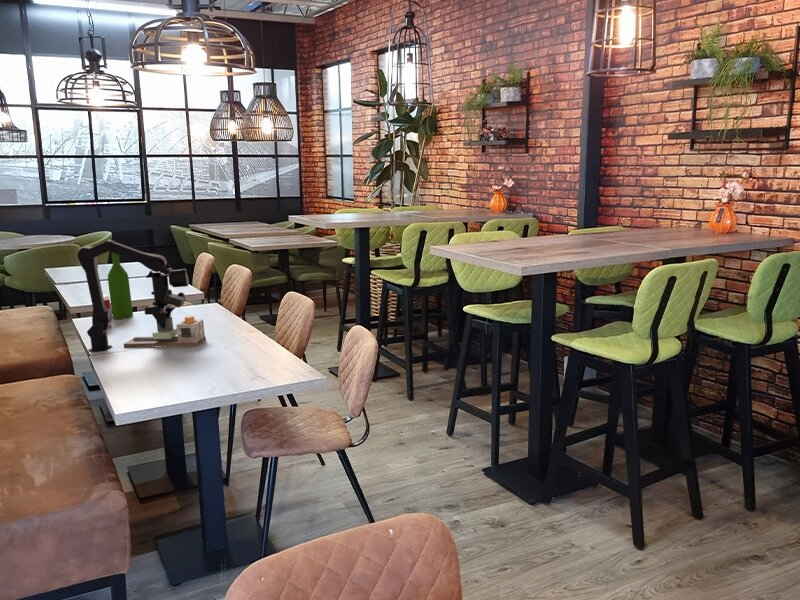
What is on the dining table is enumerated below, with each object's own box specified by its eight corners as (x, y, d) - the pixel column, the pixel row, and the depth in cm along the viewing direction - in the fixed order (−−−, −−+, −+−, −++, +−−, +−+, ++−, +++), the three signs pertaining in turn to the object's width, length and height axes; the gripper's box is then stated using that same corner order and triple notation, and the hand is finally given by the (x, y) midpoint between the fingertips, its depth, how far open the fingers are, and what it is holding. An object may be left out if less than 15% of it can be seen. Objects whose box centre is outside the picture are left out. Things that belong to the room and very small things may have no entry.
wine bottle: (137, 315, 318) (129, 247, 312) (124, 319, 310) (116, 249, 303) (121, 314, 321) (112, 247, 314) (108, 319, 312) (99, 249, 306)
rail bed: (195, 346, 257) (193, 325, 256) (123, 347, 261) (121, 326, 259) (205, 339, 267) (203, 319, 265) (136, 340, 270) (133, 320, 269)
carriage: (170, 338, 259) (168, 320, 257) (153, 338, 260) (150, 320, 258) (179, 333, 267) (177, 315, 265) (162, 333, 267) (160, 315, 266)
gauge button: (193, 330, 260) (192, 318, 259) (184, 330, 260) (183, 318, 259) (197, 328, 263) (195, 316, 262) (188, 328, 264) (186, 316, 262)
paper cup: (117, 325, 299) (113, 294, 296) (108, 329, 291) (104, 298, 289) (100, 325, 300) (96, 294, 297) (91, 329, 292) (87, 298, 289)
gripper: (170, 292, 249) (174, 333, 253) (190, 283, 268) (194, 321, 271) (141, 293, 251) (146, 333, 254) (164, 284, 269) (168, 321, 272)
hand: (165, 327), depth 262 cm, fingers closed on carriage, 3 cm apart
